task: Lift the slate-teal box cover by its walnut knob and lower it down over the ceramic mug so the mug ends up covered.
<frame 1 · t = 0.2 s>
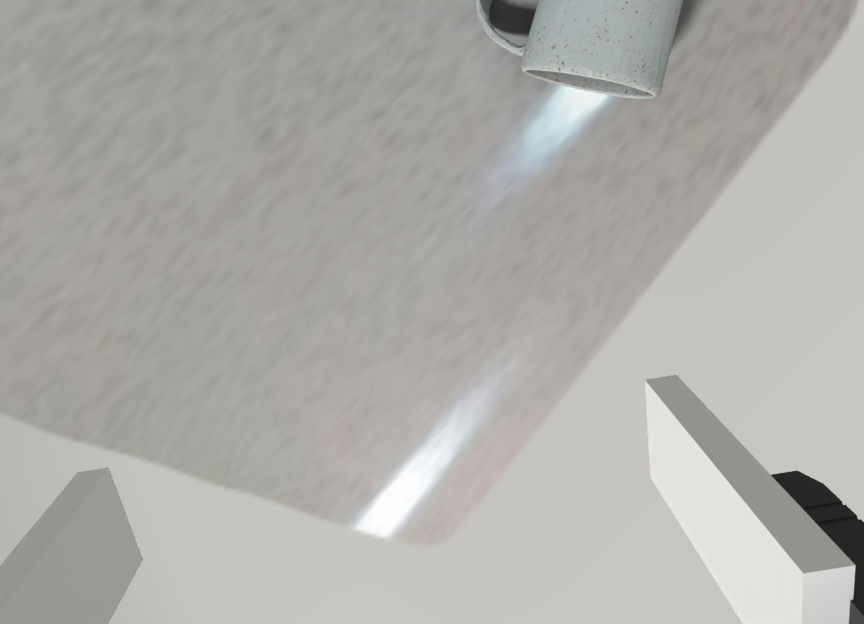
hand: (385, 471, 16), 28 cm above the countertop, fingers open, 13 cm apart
ceramic mug: (564, 17, 39), on the countertop
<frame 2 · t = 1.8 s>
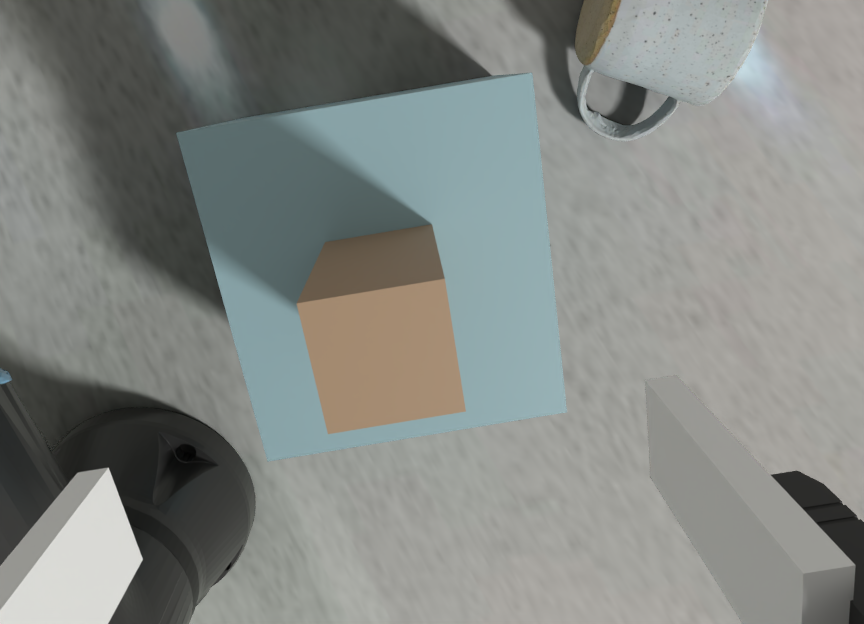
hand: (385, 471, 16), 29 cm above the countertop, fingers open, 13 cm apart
teal box cover: (391, 228, 43), on the countertop
ceramic mug: (635, 48, 41), on the countertop
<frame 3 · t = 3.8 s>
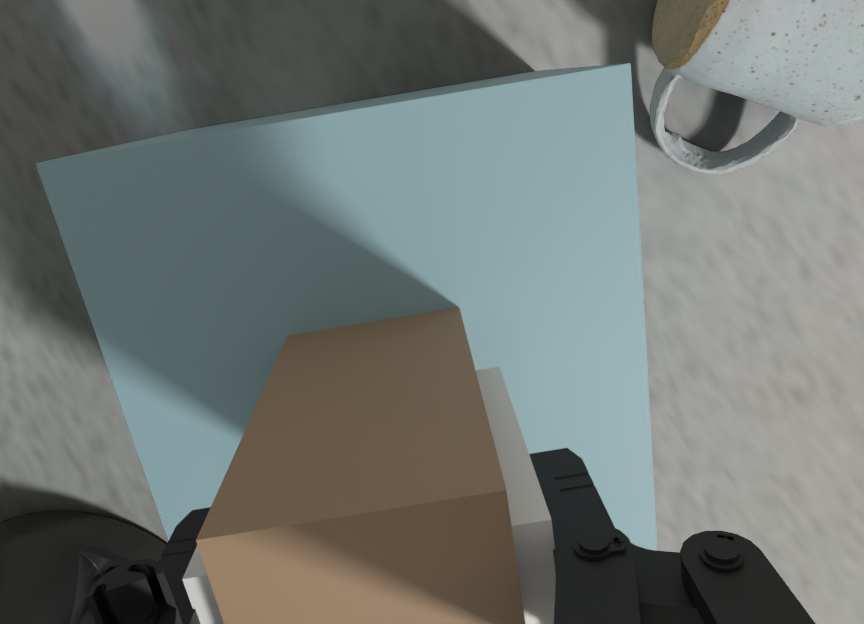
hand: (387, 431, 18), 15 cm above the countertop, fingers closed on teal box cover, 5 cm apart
teal box cover: (393, 279, 32), on the countertop, touching gripper
ceramic mug: (731, 45, 29), on the countertop
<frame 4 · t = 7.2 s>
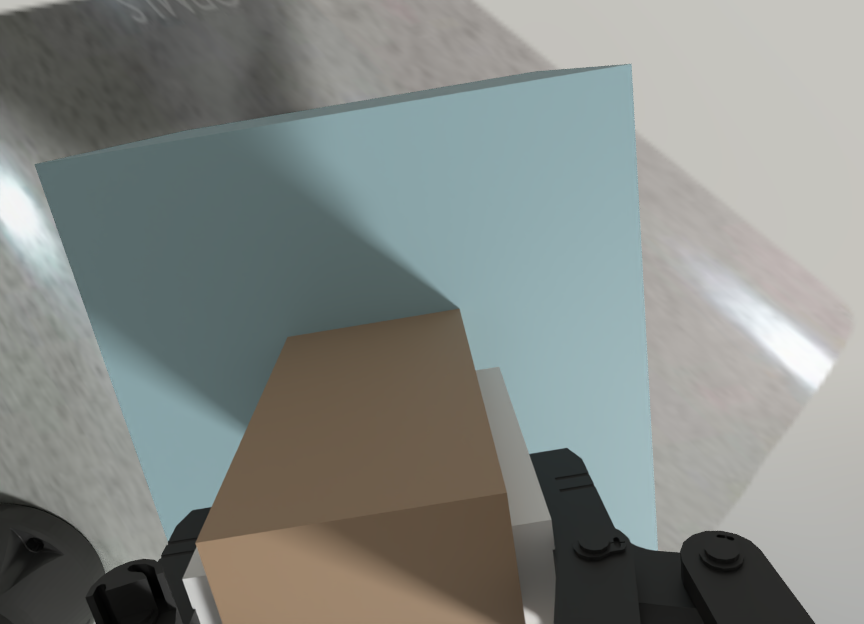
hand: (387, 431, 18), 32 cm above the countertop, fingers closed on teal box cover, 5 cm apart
teal box cover: (393, 279, 32), point 18 cm above the countertop, touching gripper
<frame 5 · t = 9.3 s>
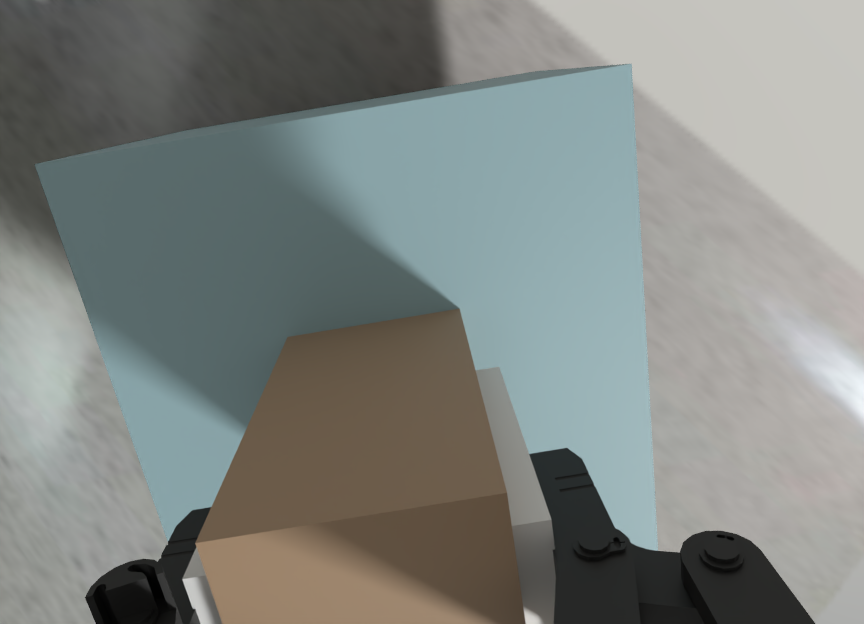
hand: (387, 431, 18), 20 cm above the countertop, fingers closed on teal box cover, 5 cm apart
teal box cover: (393, 279, 32), point 5 cm above the countertop, touching gripper
when the fingers open (16 cm above the countertop, at t = 10.8 s): teal box cover drops 2 cm, on the countertop.
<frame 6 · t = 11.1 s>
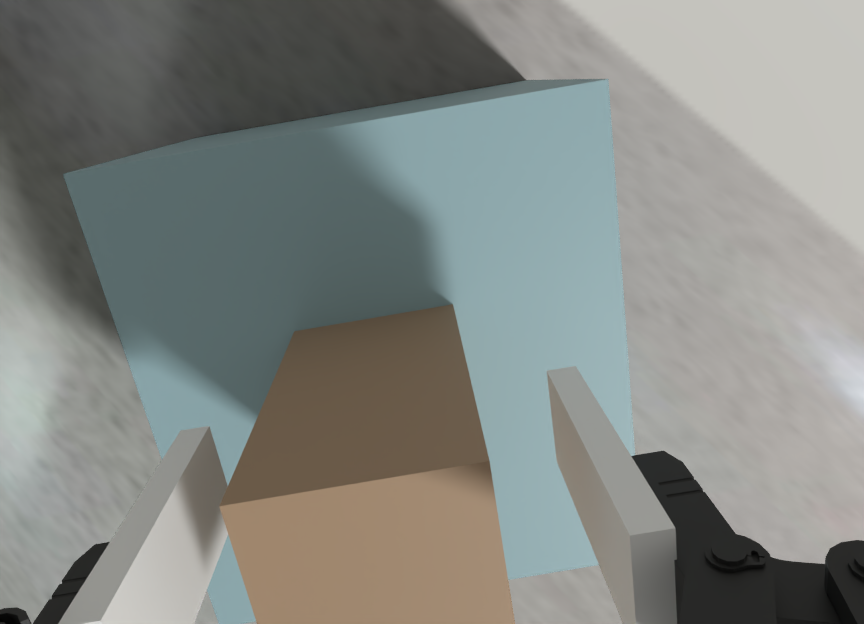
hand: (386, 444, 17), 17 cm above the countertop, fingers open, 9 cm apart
teal box cover: (393, 278, 33), on the countertop
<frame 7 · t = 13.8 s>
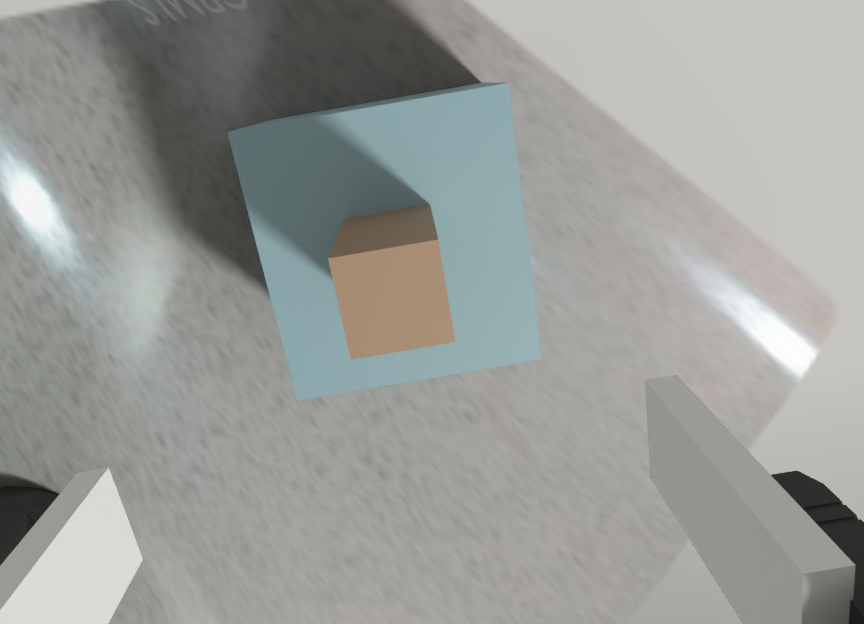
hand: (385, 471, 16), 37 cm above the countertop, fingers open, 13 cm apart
teal box cover: (396, 212, 51), on the countertop
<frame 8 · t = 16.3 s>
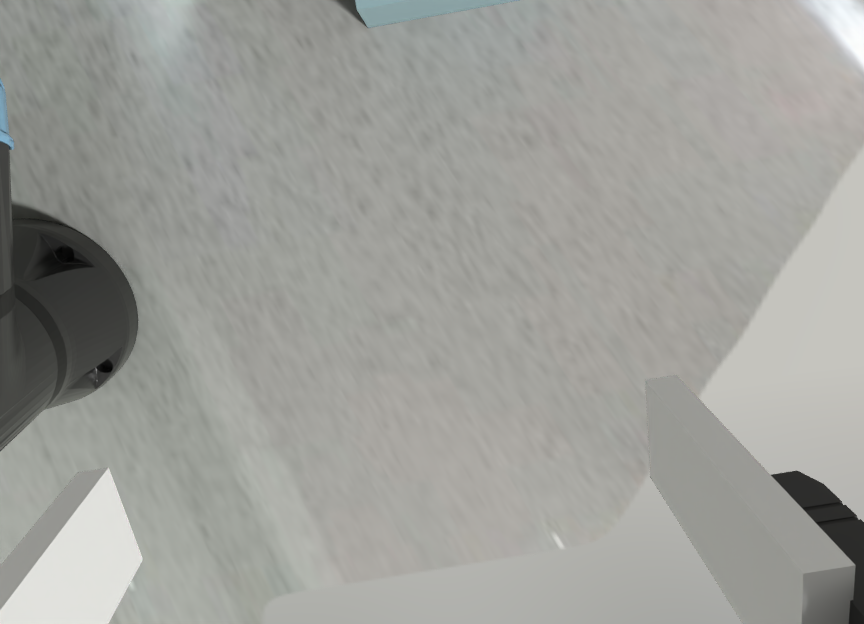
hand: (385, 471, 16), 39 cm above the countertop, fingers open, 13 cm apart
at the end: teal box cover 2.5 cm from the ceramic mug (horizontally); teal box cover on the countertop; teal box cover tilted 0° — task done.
